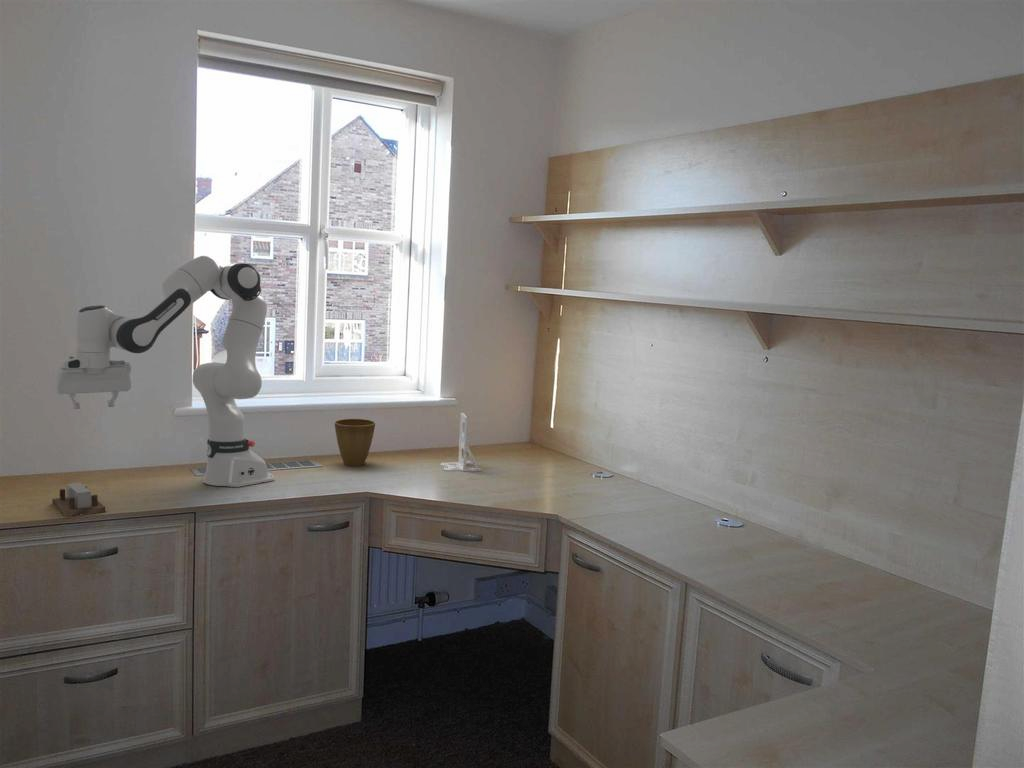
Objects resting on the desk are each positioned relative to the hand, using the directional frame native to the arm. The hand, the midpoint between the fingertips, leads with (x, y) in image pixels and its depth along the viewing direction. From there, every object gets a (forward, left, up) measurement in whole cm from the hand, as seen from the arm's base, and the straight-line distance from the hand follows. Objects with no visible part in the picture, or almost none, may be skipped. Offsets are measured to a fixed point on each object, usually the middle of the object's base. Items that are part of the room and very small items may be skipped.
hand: (93, 407), depth 248 cm
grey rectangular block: (+7, +11, -25) cm, 29 cm away
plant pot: (-90, -4, -27) cm, 94 cm away
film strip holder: (-122, +19, -27) cm, 126 cm away
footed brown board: (+7, +11, -27) cm, 30 cm away
